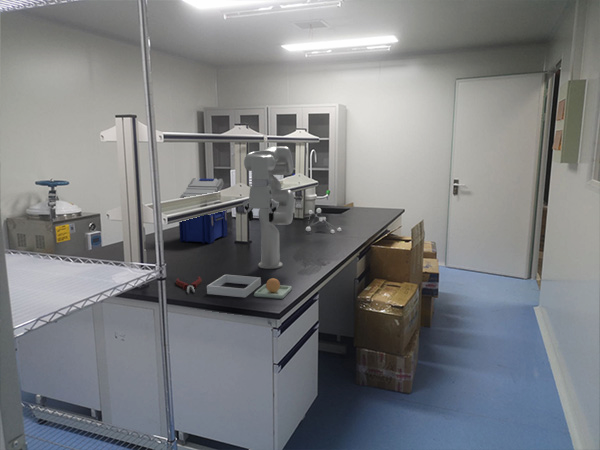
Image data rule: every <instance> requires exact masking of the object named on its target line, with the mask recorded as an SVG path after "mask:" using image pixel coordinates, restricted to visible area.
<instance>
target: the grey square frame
mask: <svg viewBox="0 0 600 450" xmlns="http://www.w3.org/2000/svg"><path fill="white" fill-rule="evenodd" d="M261 278H262V277H260V276H259V277H257V276H248V275H247V276H245V275H236V274H224V275H222V276H220V277H218V279H216V280H214V281H212V282H210V284H207V285H206V294H207V295H216V296H225V297H226V296H227V297H237V298H247V297H248V296H249V295H250V294H252V293H253V292H255V290H258V289H259V288H260V286H261V285H262V279H261ZM226 283H227V284H229V283H230V284H240V285H241V284H242V285H247V286H246V287H244V288H239V287H230V286H224V285H225V284H226Z"/></svg>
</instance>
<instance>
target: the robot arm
mask: <svg viewBox="0 0 600 450" xmlns="http://www.w3.org/2000/svg"><path fill="white" fill-rule="evenodd" d="M243 166H244V168H245V170H246V171H248V172H251V186H250V188H249V196H248V199H246V200H244V201H243V202H242V205H243V209H244V210H246V211H247V212H246V213H248V215H247V216H248V217H247V218H248V221H249V222H251V221H253V220H254V211H253V210H254V209H258V221H259V224H260V225H259V226H260V229H259V230H260V257H261V259H260V262H259V263H258V267H259V268H260V269H266V270H275V269H280V268H282V267H283V266H284V265H283V262H281V261H280V258H281V255H280V231H279V229H278V227H276V226H277V225H283V226H284V225H286V226H287V225H290V224H291V223H292V222H293V218H294V208H295V195H294V193H293V191H292V190H290V189H282V183H281V182H280V180H279V179H278V178H277V177H276V176H289V175H292V174H293V172H294V169H295V168H294V167H295V166H294V161H293V155H292V152H291V149H290V148H289V147H288V146H268V147H266V148H264V149H262V150H258V151H252V152H249V153H247V154H246V155H245V157H244V160H243Z"/></svg>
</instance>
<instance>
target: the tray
mask: <svg viewBox="0 0 600 450" xmlns="http://www.w3.org/2000/svg"><path fill="white" fill-rule="evenodd" d="M292 289H293V286H291V285H281V284H280V288H279V290H278V291H276V292H270V291H268V290H267V288H266V283H264V284H263V285H262V286H261V287H258V288H257V289H256V291H254V293H253V297H259V298H267V299H269V298H270V299H277V300H283V299H284V298H286V296H287V295H289V293H290V292H292Z"/></svg>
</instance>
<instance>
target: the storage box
mask: <svg viewBox="0 0 600 450" xmlns="http://www.w3.org/2000/svg"><path fill="white" fill-rule="evenodd" d="M223 187H224V180H223V178H219V179H217V178H200V177H199V178H196V177H194V178H192V179H191V181H189V184H188V185H187V187H186V190H185V191H183V193H181V195H180V196H179V198H184V197H190V196H196V195H202V194H207V193H213V192H218V191H221V190H222V189H223ZM227 211H228V210H226V211H223V212H218V213H215V214H211V215H204V216H200V217H197V218H193V219H189V220H186V221H182V222H179V221H178V224H179V227H178V228H179V229H178V230H179V242H180V243H187V244H188V243H191V242H195V243H197V242H198V243H202V244H208V245H210V244H212V243H215V240H216V239H218V238H222V239H223V238H226V237H228V214H227V213H228V212H227ZM184 241H185V242H184Z"/></svg>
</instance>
